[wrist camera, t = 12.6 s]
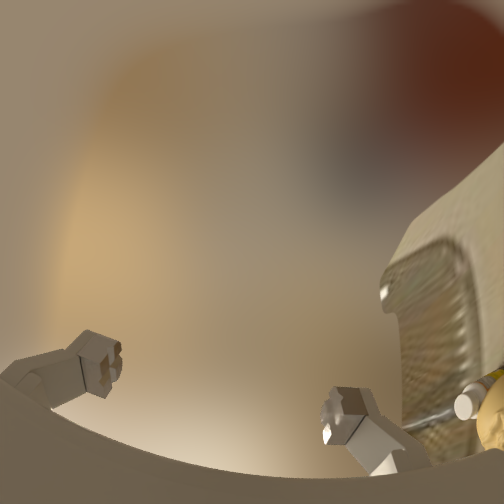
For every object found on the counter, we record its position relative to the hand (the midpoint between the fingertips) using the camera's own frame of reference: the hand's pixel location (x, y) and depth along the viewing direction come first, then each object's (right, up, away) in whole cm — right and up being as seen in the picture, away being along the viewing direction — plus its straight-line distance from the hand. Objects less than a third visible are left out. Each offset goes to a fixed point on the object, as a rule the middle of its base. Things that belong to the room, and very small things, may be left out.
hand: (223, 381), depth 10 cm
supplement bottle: (+39, -15, +16) cm, 45 cm away
